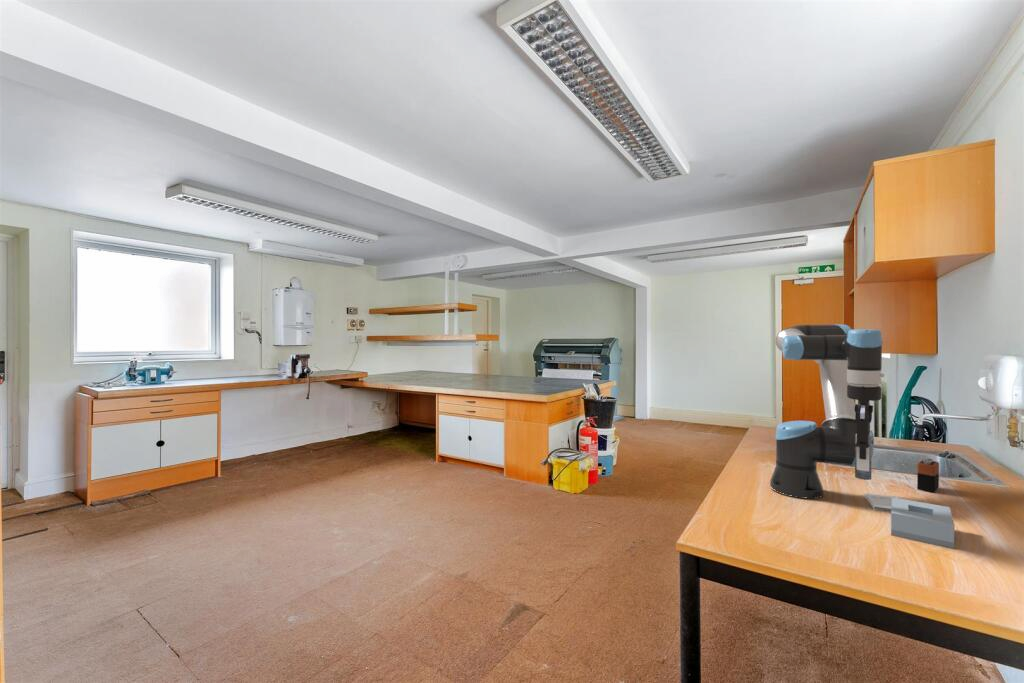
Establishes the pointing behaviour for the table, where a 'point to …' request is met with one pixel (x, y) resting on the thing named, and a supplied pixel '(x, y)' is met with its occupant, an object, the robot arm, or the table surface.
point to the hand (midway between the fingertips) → (863, 468)
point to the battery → (928, 475)
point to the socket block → (922, 522)
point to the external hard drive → (879, 501)
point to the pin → (867, 474)
